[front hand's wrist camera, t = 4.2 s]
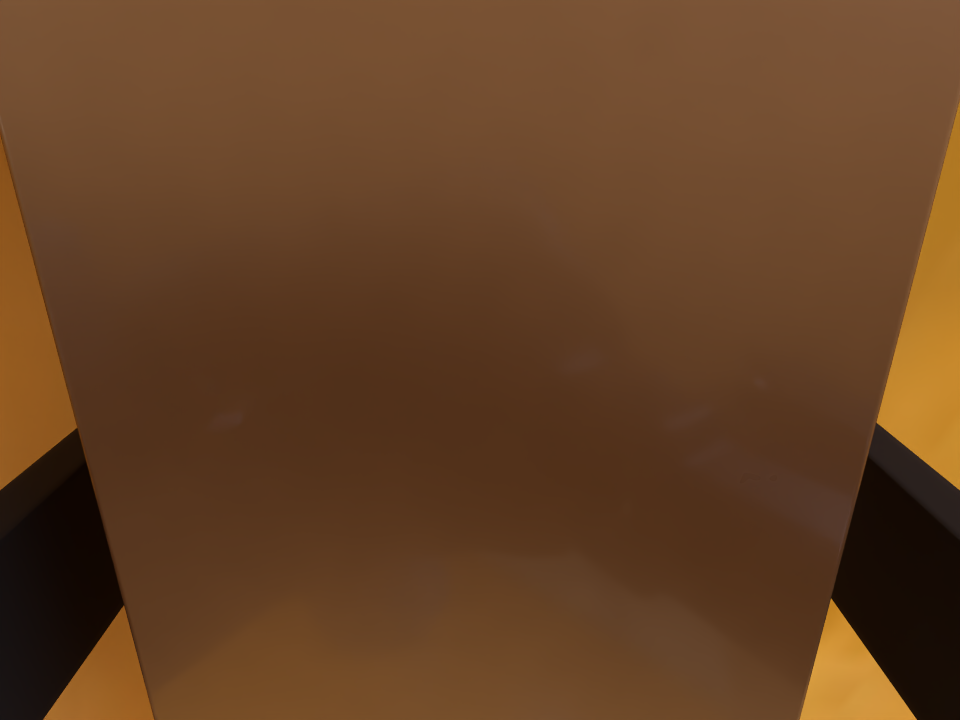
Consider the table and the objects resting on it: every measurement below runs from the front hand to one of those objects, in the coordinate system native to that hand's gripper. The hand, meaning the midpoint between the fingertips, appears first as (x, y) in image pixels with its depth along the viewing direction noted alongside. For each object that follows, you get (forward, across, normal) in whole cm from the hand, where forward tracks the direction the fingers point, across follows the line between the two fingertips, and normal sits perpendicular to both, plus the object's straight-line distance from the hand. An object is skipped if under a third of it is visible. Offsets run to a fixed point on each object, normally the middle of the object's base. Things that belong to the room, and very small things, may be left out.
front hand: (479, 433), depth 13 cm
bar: (+2, 0, -8) cm, 9 cm away
